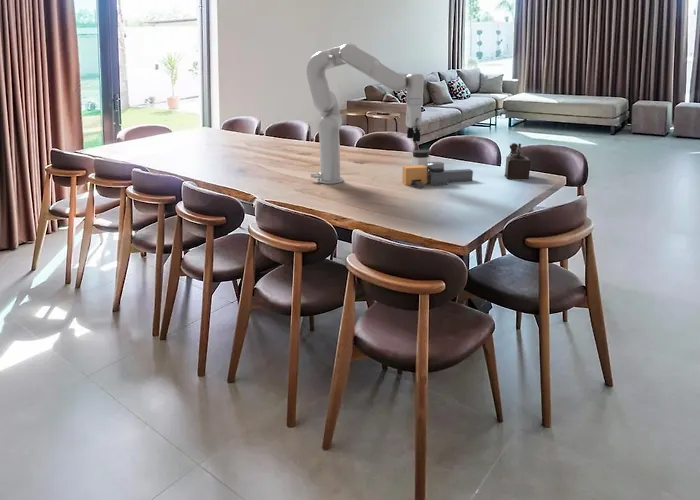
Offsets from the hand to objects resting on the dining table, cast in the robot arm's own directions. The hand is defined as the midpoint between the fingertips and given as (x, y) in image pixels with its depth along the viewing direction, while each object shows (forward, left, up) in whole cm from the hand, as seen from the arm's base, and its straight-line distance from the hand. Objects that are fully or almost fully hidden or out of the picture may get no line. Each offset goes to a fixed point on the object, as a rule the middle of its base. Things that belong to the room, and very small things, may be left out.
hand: (413, 139), depth 291 cm
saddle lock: (+1, -1, -21) cm, 21 cm away
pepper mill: (+52, -2, -21) cm, 56 cm away
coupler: (+14, -1, -20) cm, 25 cm away
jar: (+9, +16, -21) cm, 27 cm away
